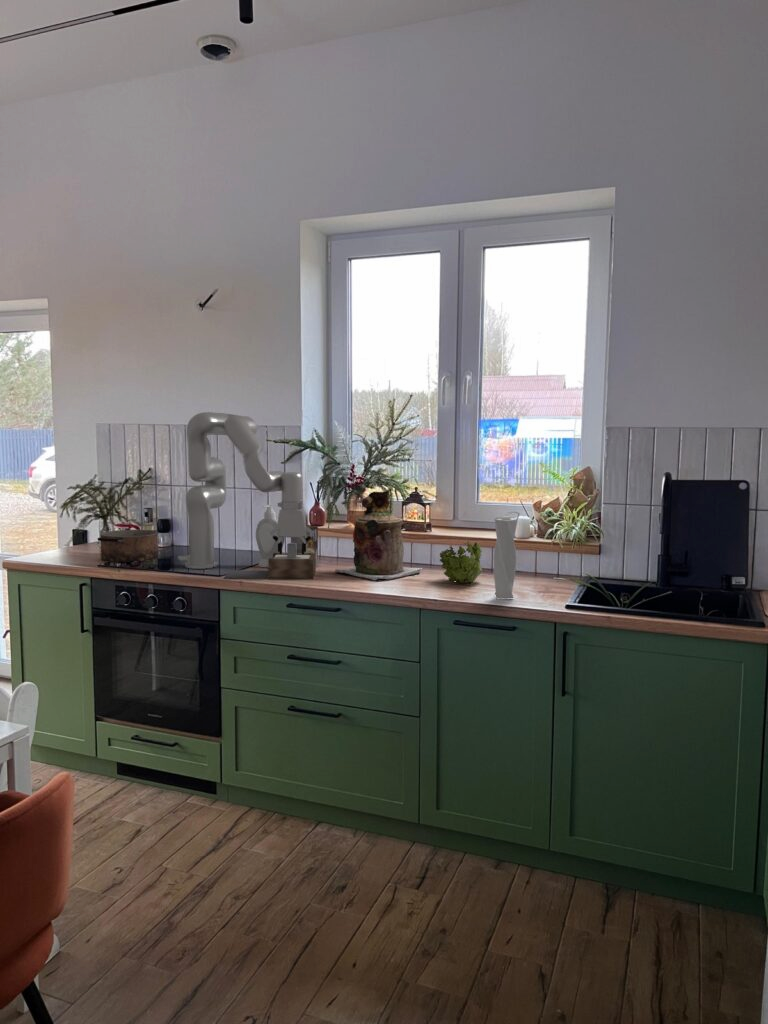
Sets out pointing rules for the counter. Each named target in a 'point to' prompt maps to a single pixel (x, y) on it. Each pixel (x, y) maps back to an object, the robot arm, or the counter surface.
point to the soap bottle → (267, 536)
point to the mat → (247, 574)
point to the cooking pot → (129, 545)
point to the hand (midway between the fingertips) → (292, 553)
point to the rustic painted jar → (378, 541)
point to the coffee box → (311, 544)
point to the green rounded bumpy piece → (462, 563)
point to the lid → (292, 553)
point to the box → (292, 567)
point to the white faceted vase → (505, 556)
